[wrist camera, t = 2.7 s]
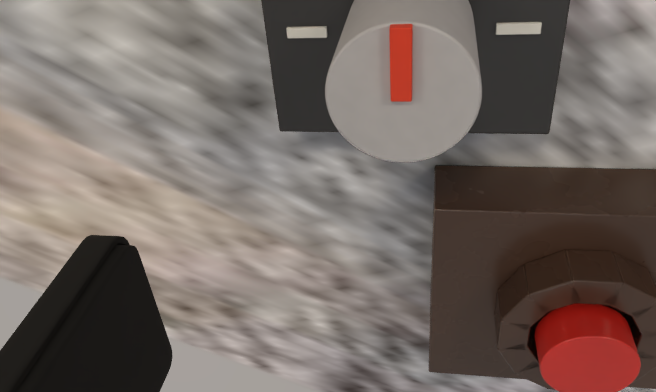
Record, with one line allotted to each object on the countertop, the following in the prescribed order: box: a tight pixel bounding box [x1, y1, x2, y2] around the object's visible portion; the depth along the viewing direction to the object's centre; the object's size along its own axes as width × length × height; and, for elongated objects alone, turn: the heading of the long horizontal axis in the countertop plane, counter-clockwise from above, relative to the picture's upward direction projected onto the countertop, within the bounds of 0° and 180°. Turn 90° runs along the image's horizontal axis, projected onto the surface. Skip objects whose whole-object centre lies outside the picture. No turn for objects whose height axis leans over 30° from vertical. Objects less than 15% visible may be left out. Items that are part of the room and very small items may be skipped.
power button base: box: [429, 165, 656, 390], centre depth 26 cm, size 12×10×5 cm
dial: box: [325, 0, 482, 163], centre depth 18 cm, size 4×4×5 cm
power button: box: [535, 303, 641, 392], centre depth 24 cm, size 4×4×2 cm
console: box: [261, 0, 570, 134], centre depth 21 cm, size 10×8×3 cm
